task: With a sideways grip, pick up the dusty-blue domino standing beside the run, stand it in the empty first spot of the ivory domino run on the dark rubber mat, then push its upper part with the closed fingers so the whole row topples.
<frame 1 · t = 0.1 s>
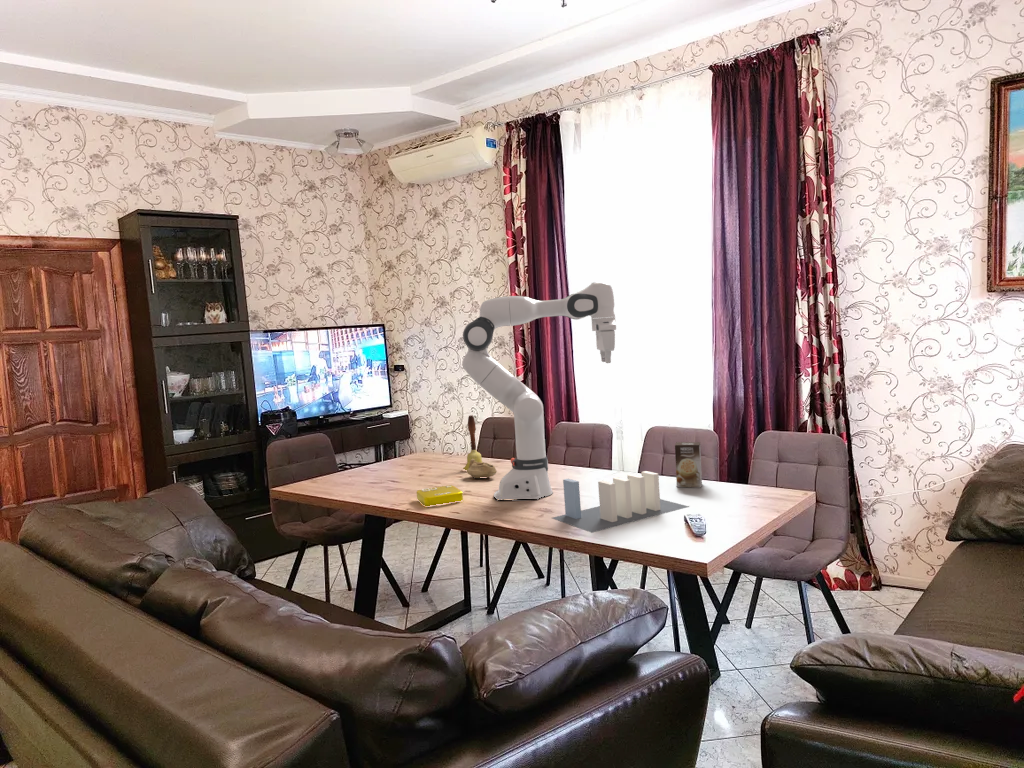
hand: (606, 362, 262), 48 cm above the table, tool pointing down, fingers open, 8 cm apart
domino 5: (651, 508, 230), point 1 cm above the table, touching rubber mat
blue domino: (573, 516, 227), point 1 cm above the table, touching rubber mat
domino 2: (608, 519, 221), point 1 cm above the table, touching rubber mat
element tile: (440, 502, 266), on the table
domino 3: (623, 515, 224), point 1 cm above the table, touching rubber mat
coffee box: (689, 486, 261), on the table
handbell: (475, 469, 321), on the table
oil lamp: (483, 478, 301), on the table
domino 4: (637, 512, 227), point 1 cm above the table, touching rubber mat
rubber mat: (620, 515, 228), on the table
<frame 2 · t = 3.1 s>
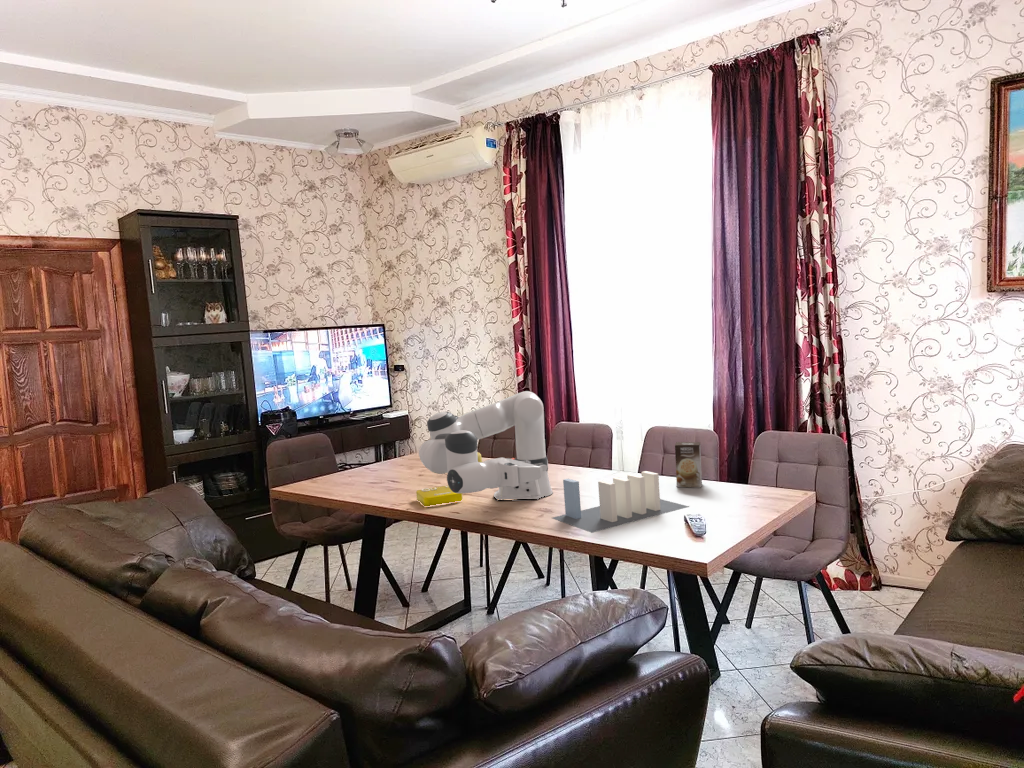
hand: (537, 465, 220), 20 cm above the table, tool horizontal, fingers open, 8 cm apart
nothing on the table moved.
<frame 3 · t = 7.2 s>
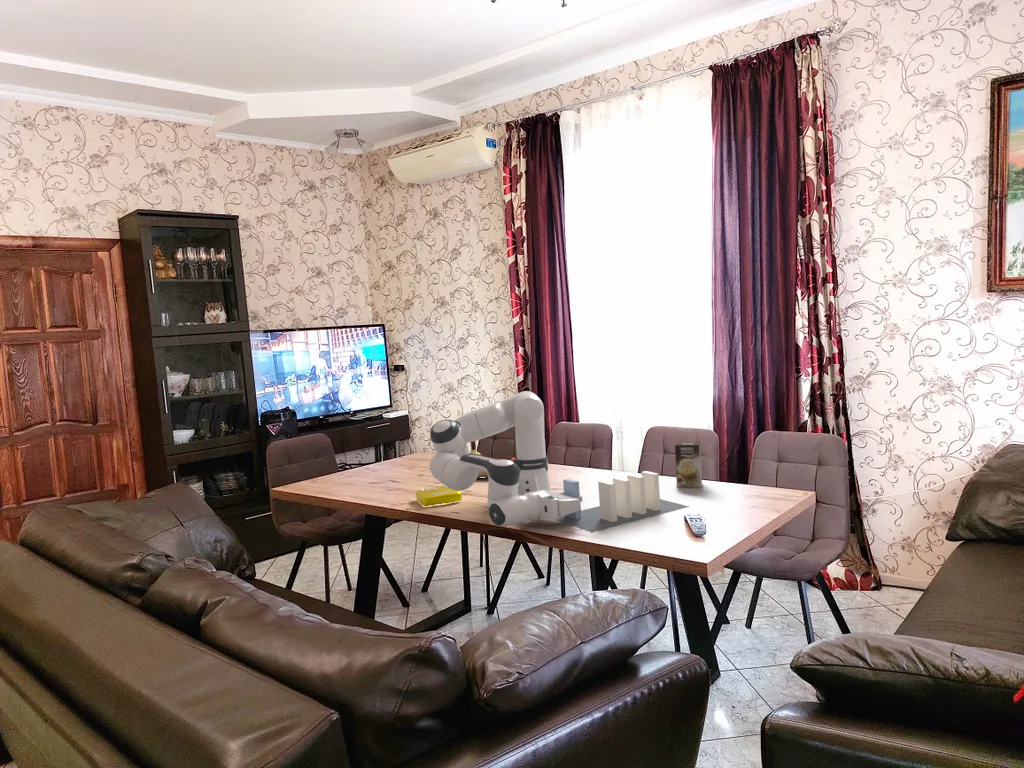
hand: (574, 496, 227), 8 cm above the table, tool horizontal, fingers closed on blue domino, 6 cm apart
blue domino: (573, 516, 227), point 1 cm above the table, touching gripper, rubber mat
everything else where it was.
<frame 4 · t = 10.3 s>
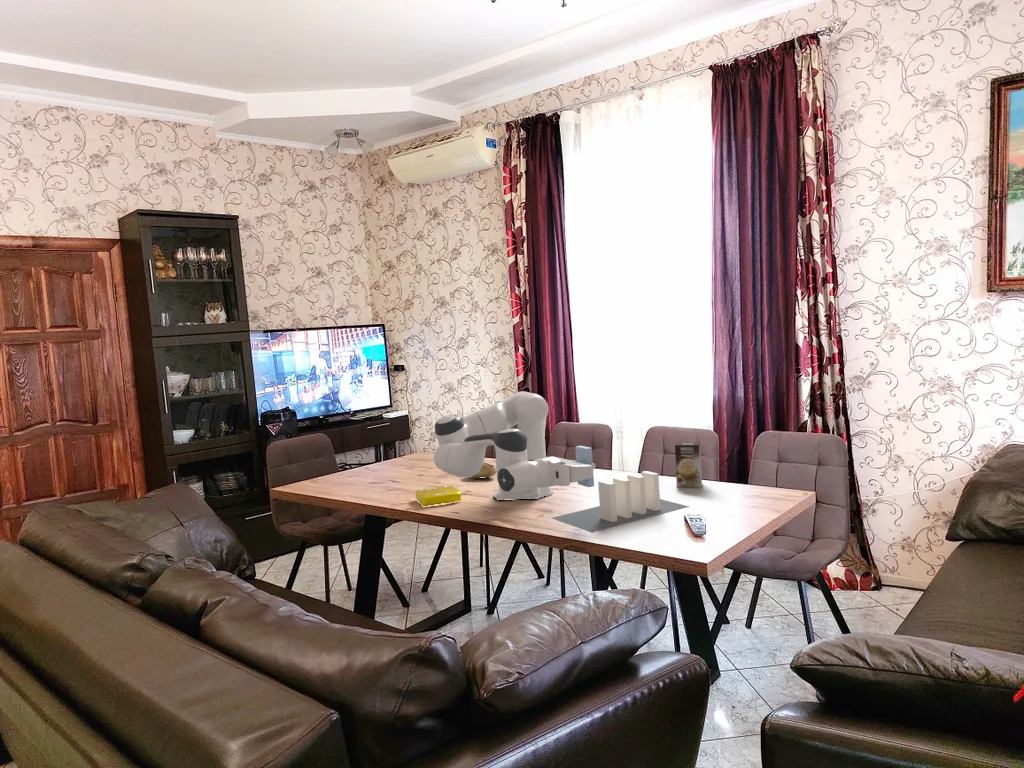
hand: (587, 464, 217), 20 cm above the table, tool horizontal, fingers closed on blue domino, 6 cm apart
blue domino: (585, 485, 217), point 13 cm above the table, touching gripper
everything else where it was.
when the fingers open (9 cm above the table, at t = 13.1 s): blue domino drops 1 cm, resting on rubber mat.
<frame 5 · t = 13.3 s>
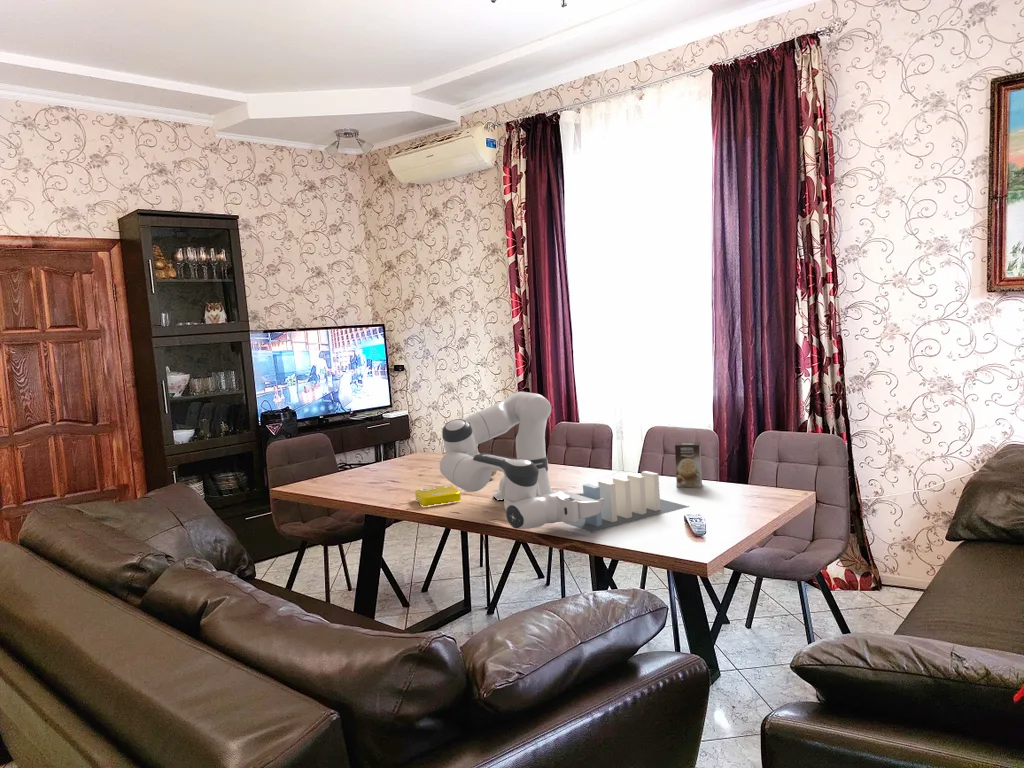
hand: (594, 498, 218), 9 cm above the table, tool horizontal, fingers open, 8 cm apart
blue domino: (593, 523, 218), point 1 cm above the table, touching rubber mat
everything else where it was.
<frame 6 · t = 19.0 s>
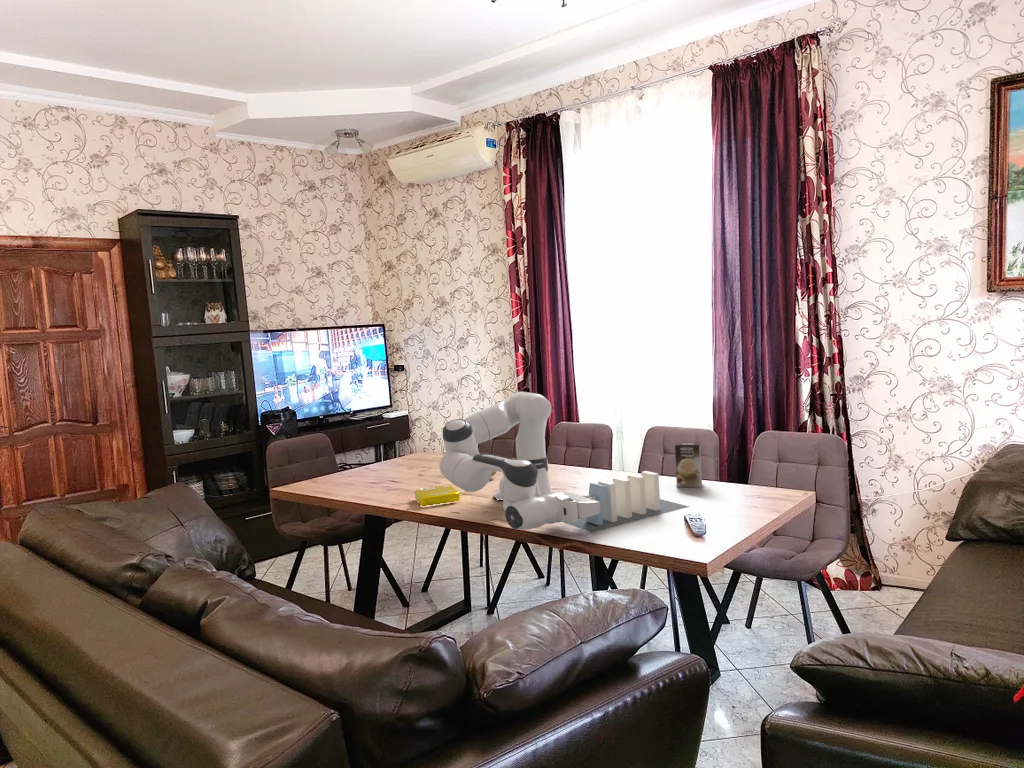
hand: (593, 498, 217), 9 cm above the table, tool horizontal, fingers closed
blue domino: (593, 522, 218), point 1 cm above the table, tilted 13°, touching rubber mat
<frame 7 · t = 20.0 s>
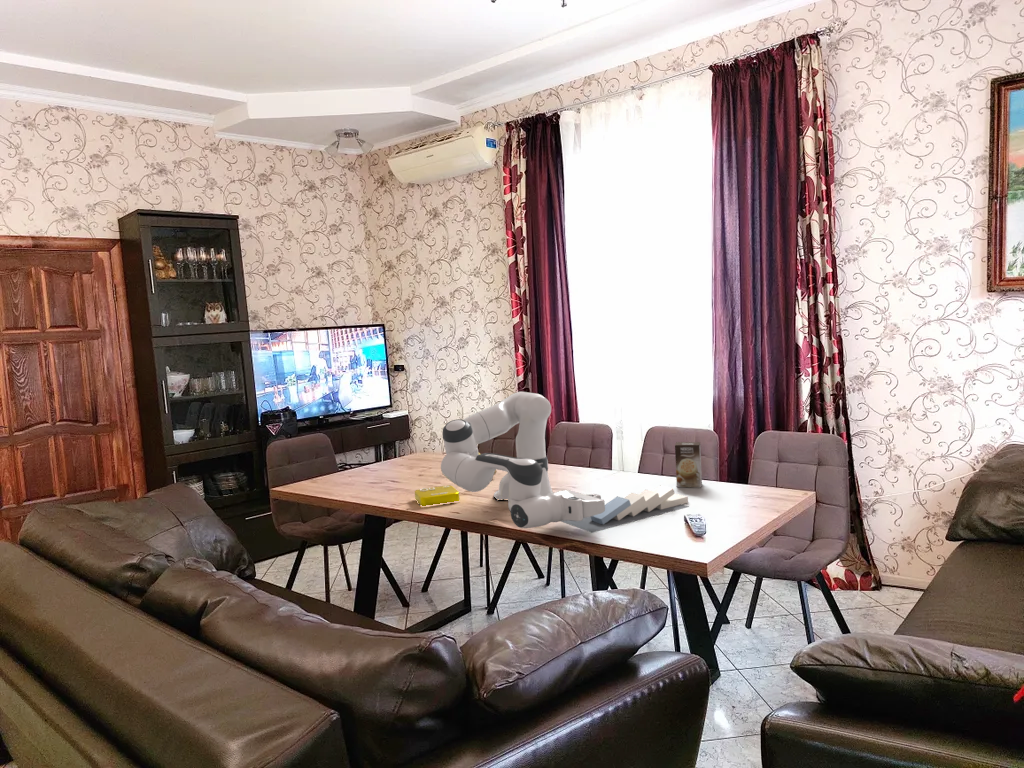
hand: (598, 497, 218), 9 cm above the table, tool horizontal, fingers closed
domino 5: (654, 504, 230), point 2 cm above the table, tilted 90°, touching domino 4, rubber mat
blue domino: (596, 519, 218), point 2 cm above the table, tilted 71°, touching domino 2, rubber mat
domino 2: (611, 515, 221), point 2 cm above the table, tilted 70°, touching blue domino, domino 3
domino 3: (626, 512, 224), point 2 cm above the table, tilted 71°, touching domino 2, domino 4, rubber mat
domino 4: (641, 507, 228), point 2 cm above the table, tilted 71°, touching domino 3, domino 5
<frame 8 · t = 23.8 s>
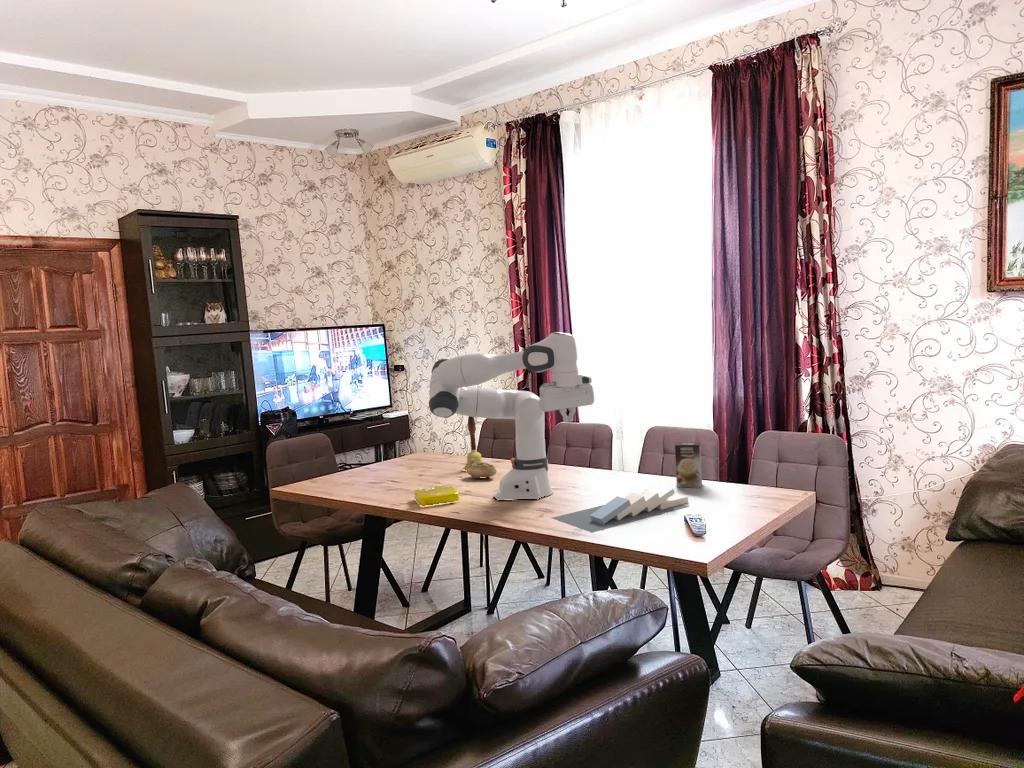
hand: (568, 421, 233), 31 cm above the table, tool pointing down, fingers closed
at the end: domino 5 tilted 90°; blue domino inside the target area (1.2 cm from its centre), point 1.9 cm above the table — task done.
